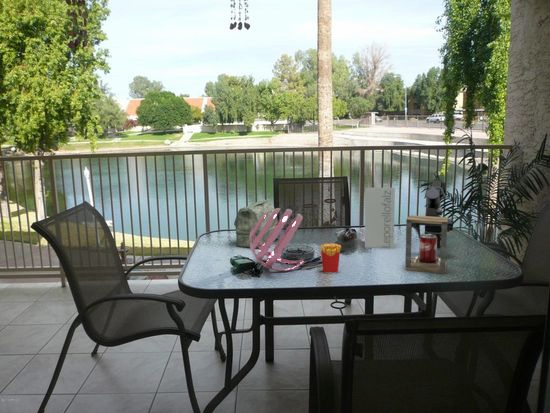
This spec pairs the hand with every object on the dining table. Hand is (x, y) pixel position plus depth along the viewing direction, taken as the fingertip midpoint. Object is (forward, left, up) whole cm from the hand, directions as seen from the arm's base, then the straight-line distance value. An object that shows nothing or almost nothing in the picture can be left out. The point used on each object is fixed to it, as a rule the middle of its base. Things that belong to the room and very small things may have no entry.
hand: (429, 239), depth 206 cm
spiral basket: (-15, -68, -10) cm, 71 cm away
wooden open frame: (+8, -7, -9) cm, 14 cm away
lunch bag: (-60, -66, -10) cm, 90 cm away
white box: (-28, -10, -10) cm, 31 cm away
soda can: (+6, -5, -9) cm, 12 cm away
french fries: (-1, -48, -10) cm, 49 cm away
